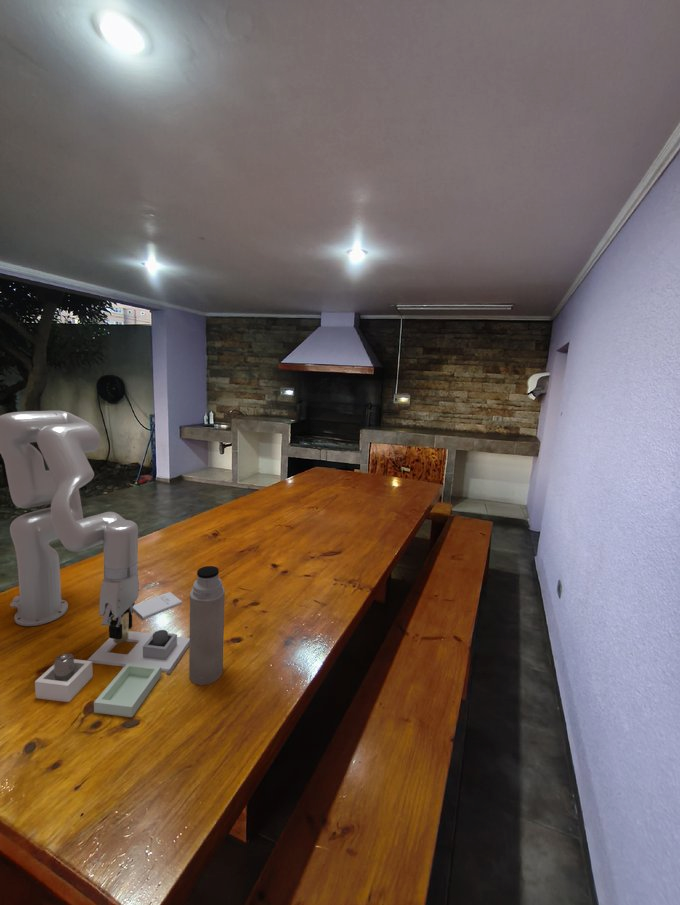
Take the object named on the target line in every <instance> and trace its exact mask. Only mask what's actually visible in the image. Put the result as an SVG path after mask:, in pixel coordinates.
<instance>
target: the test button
mask: <svg viewBox="0 0 680 905" xmlns="http://www.w3.org/2000/svg"><path fill="white" fill-rule="evenodd" d="M168 633H169V632H168V631H167V630H165V629H159V630H157V631H155V632H153V633H152V634H153V646H161V647H164V646H165V645H166V644H167V642H168Z"/></svg>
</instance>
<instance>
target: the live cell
mask: <svg viewBox="0 0 680 905" xmlns="http://www.w3.org/2000/svg"><path fill="white" fill-rule="evenodd" d="M113 620H115V621H116V618H114V617H113ZM121 624H122V638H121V639H113V642H115V643H117V644H122V643H125V642H127V641H126V640H127V639H128V638H129V631H130V629H129V612H128V611H127V610H126V611H125V612H124V613H123V614H122V615H121Z"/></svg>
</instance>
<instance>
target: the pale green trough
mask: <svg viewBox="0 0 680 905" xmlns="http://www.w3.org/2000/svg"><path fill="white" fill-rule="evenodd" d="M161 677H162V671H161V667H160V666H151V665H143V664H135V663H127V664H126V665H125V666H124V667H123V666H122V669H121V670H120V671H119V672H118V673H117V675H116V676H115V677H114V678H113V679H112V680H111V682H110V683H109V684H108V685H107V686H106V687H105V688H104V689H103V691H102V692H101V693H100V694H99V695H98V696H97V698H96V699H95V700H94V702H93V713H94V714H103V715H111V716H119V717H124V718H125V717H126V718H133V717H134V716H135V714H136V712H137V711H138V710H139V708H140V707H141V705H142V704H143V702H144V701H145V700H146V699H147V697H148V696H149V694H150V693H151V691H152V690H153V688H154V687H155V686H156V684H157V682H158V681H159V680H160V679H161Z"/></svg>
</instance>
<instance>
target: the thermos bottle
mask: <svg viewBox="0 0 680 905" xmlns="http://www.w3.org/2000/svg"><path fill="white" fill-rule="evenodd" d="M219 573H220V570H219V568H218V567H216V566H214V565H213V566H212V565H207V566H202V567H200V568H198V569H197V573H196V575H197V577H196V579H195V580H194V582H193V584H192V589H191V590H190V592H189V638H190V644H189V646H188V648H189V652H188V655H189V659H188V660H189V661H188V662H189V665H188V667H189V668H188V669H189V670H188V672H189V673H188V674H189V675H188V677H189V681H191V682H192V683H193V684H195V685H198V686H199V685H201V686H203V685H205V686H206V685H209V684H212V683H214V682H216V681H218V679H220V677H221V676H222V675H223V671H224V670H223V668H224V662H223V661H224V639H225V638H224V633H225V631H224V630H225V602H226V601H225V599H226V598H225V597H226V595H225V594H226V590H225V587H224V586H223V580H222V579H221V578H220V577H219Z"/></svg>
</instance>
